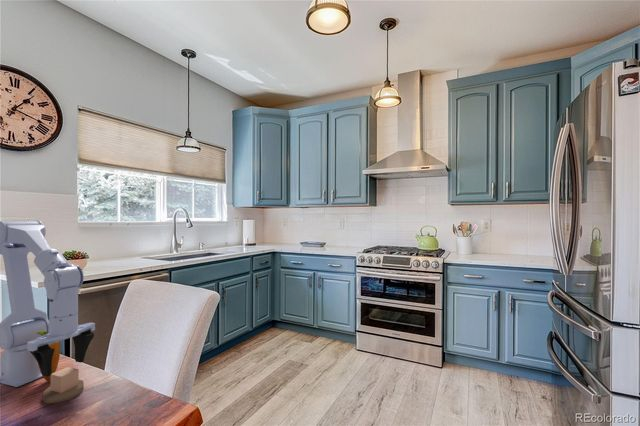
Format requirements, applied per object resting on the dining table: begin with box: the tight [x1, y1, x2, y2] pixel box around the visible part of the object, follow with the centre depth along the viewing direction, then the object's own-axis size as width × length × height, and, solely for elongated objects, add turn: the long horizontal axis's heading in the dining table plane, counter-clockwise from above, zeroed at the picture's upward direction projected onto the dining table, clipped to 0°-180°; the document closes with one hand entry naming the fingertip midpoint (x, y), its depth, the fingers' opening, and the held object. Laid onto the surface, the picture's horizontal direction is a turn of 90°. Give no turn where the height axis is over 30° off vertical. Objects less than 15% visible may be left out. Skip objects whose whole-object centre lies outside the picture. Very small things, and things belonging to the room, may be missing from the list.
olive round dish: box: [42, 379, 85, 404], centre depth 80 cm, size 8×8×2 cm
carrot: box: [37, 330, 61, 382], centre depth 87 cm, size 5×5×15 cm
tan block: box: [50, 366, 80, 393], centre depth 80 cm, size 4×4×4 cm
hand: (63, 368), depth 80 cm, fingers open, 7 cm apart
